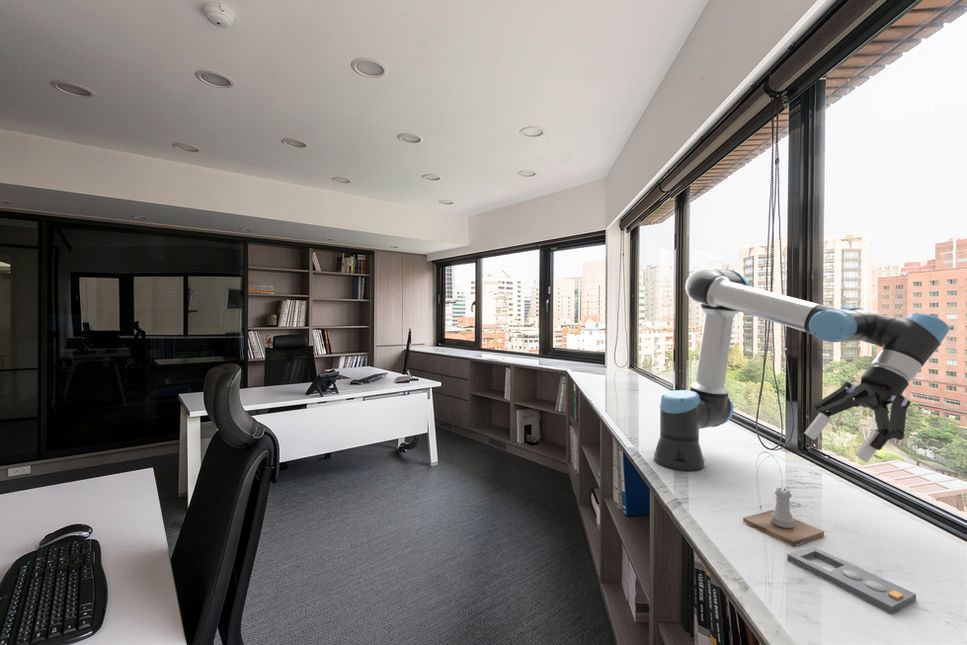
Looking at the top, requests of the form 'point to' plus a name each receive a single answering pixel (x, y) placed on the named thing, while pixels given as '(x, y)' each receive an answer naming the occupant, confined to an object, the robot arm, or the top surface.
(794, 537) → the walnut pad
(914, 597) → the gray slotted board
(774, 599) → the top surface
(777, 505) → the rook chess piece
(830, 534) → the top surface
